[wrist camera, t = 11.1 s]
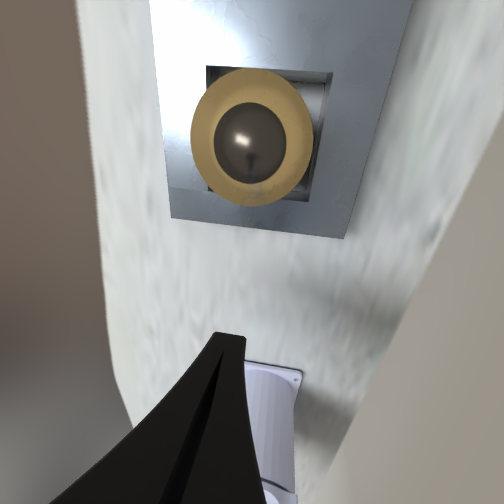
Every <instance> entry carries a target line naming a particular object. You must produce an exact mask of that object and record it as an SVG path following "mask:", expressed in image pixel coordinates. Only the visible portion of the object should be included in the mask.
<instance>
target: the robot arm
mask: <svg viewBox="0 0 504 504" xmlns="http://www.w3.org/2000/svg"><path fill="white" fill-rule="evenodd" d="M245 349H246V338H245V337H244V336H239V335H233V334H227V333H221V332H215V333H213V335H212V336H211V338H210V339H209V341H208V342H207V344H206V345H205V347H204V348H203V350H202V351H201V352H200V354H199V355H198V357H197V358H196V359H195V361H194V362H193V363H192V364H191V366H190V367H189V368H188V369H187V371H186V372H185V373H184V374H183V376H182V377H181V378H180V379H179V381H178V382H177V383H176V384H175V385H174V386H173V387H172V389H171V390H170V391H169V392H168V393H167V394H166V395H165V397H164V398H163V399H162V400H161V401H160V402H159V403H158V404H157V405H156V406H155V407H154V409H153V410H152V411H151V412H150V413H149V414H148V415H147V416H146V417H145V418H144V419H143V420H142V421H141V422H140V423H139V424H138V425H137V426H136V427H135V428H134V429H133V430H132V431H131V432H130V433H129V434H128V435H127V436H125V437H124V439H122V440H121V441H120V442H119V443H118V444H117V445H116V446H115V447H114V448H113V449H112V450H111V451H110V452H108V453H107V454H106V455H105V456H104V457H103V458H102V459H101V460H100V461H98V463H96V464H95V465H94V466H93V467H92V468H90V469H89V470H88V471H87V472H86V473H85V474H83V475H82V476H81V477H80V478H79V479H78V480H76V481H75V482H74V483H73V484H72V485H71V486H69V487H68V488H67V489H66V490H65V491H64V492H62V493H61V494H60V495H59V496H58V497H56V498H55V499H54V500H53V501H52V502H50V504H298V496H297V494H295V469H294V414H293V407H294V404H295V400H296V397H297V393H298V390H299V386H300V383H301V379H302V373H301V372H300V371H297V370H291V369H285V368H280V367H274V366H268V365H263V364H257V363H251V362H246V361H244V359H245Z"/></svg>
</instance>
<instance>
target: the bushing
mask: <svg viewBox="0 0 504 504" xmlns="http://www.w3.org/2000/svg"><path fill="white" fill-rule="evenodd" d="M190 144H191V151H192V155H193V159H194V162H195V165H196V167H197V169H198V171H199V173H200V175H201V177H202V178H203V180H204V181H205V182H206V184H207V185H208V186H209V187H210V188H211V189H212V190H213V191H214V192H215V193H216V194H218V195H219V196H220V197H222V198H224V199H225V200H227V201H230V202H232V203H235V204H238V205H243V206H262V205H266V204H270V203H272V202H275V201H277V200H279V199H281V198H282V197H284V196H285V195H287V194H288V193H289V192H290V191H291V190H292V189H293V188H294V187H295V186H296V185H297V184H298V183H299V181H300V180H301V178H302V177H303V175H304V173H305V171H306V169H307V167H308V164H309V162H310V158H311V154H312V149H313V127H312V121H311V117H310V114H309V111H308V109H307V106H306V104H305V102H304V100H303V99H302V97H301V95H300V94H299V93H298V92H297V90H296V89H295V88H294V87H293V86H292V85H291V84H290V83H289V82H288V81H286V80H285V79H284V78H282V77H281V76H279V75H277V74H275V73H273V72H270V71H267V70H264V69H257V68H245V69H239V70H235V71H233V72H230V73H227V74H226V75H224V76H222V77H220V78H219V79H218V80H216V81H215V82H214V83H213V84H212V85H211V86H210V87H209V88H208V89H207V90H206V91H205V93H204V94H203V95H202V97H201V98H200V100H199V102H198V104H197V106H196V109H195V111H194V114H193V118H192V122H191V130H190Z"/></svg>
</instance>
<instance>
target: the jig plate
mask: <svg viewBox="0 0 504 504" xmlns="http://www.w3.org/2000/svg"><path fill="white" fill-rule="evenodd" d="M412 3H413V0H150V10H151V20H152V30H153V40H154V50H155V60H156V70H157V80H158V90H159V100H160V110H161V120H162V131H163V141H164V151H165V161H166V171H167V181H168V191H169V201H170V211H171V218H176V219H184V220H192V221H200V222H208V223H216V224H224V225H233V226H241V227H249V228H257V229H265V230H273V231H281V232H289V233H298V234H306V235H314V236H322V237H330V238H338V239H344V236H345V233H346V229H347V226H348V222H349V219H350V215H351V212H352V209H353V205H354V202H355V198H356V195H357V191H358V188H359V185H360V181H361V178H362V174H363V171H364V167H365V164H366V161H367V157H368V154H369V150H370V147H371V143H372V140H373V137H374V133H375V130H376V126H377V123H378V119H379V116H380V113H381V109H382V106H383V102H384V99H385V95H386V92H387V89H388V85H389V82H390V78H391V75H392V72H393V68H394V65H395V61H396V58H397V54H398V51H399V48H400V44H401V41H402V37H403V34H404V30H405V27H406V24H407V20H408V17H409V13H410V10H411V6H412ZM245 68H257V69H264V70H267V71H270V72H273V73H275V74H277V75H279V76H281V77H282V78H284V79H285V80H286V81H301V82H317V83H326V85H325V90H324V95H323V101H322V106H321V112H320V117H319V123H318V128H317V133H316V139H315V144H314V150H313V155H312V160H311V166H310V171H309V177H308V182H307V188H306V192H297V191H290V192H289V193H288V194H287V195H285V196H284V197H282V198H281V199H279V200H277V201H275V202H272V203H270V204H266V205H262V206H243V205H238V204H235V203H232V202H230V201H227V200H225V199H224V198H222V197H220V196H219V195H218V194H216V193H215V192H214V191H213V190H212V189H211V188H210V187H209V186H208V185H207V184H206V182H205V181H204V180H203V178H202V177H201V175H200V173H199V171H198V169H197V167H196V165H195V162H194V159H193V155H192V151H191V144H190V130H191V122H192V118H193V114H194V111H195V109H196V106H197V104H198V102H199V100H200V98H201V97H202V95H203V94H204V93H205V91H206V90H207V89H208V88H209V87H210V86H211V85H212V84H213V83H214V82H215V81H216V80H218V79H219V76H224V75H226V74H227V73H230V72H233V71H235V70H239V69H245Z"/></svg>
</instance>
